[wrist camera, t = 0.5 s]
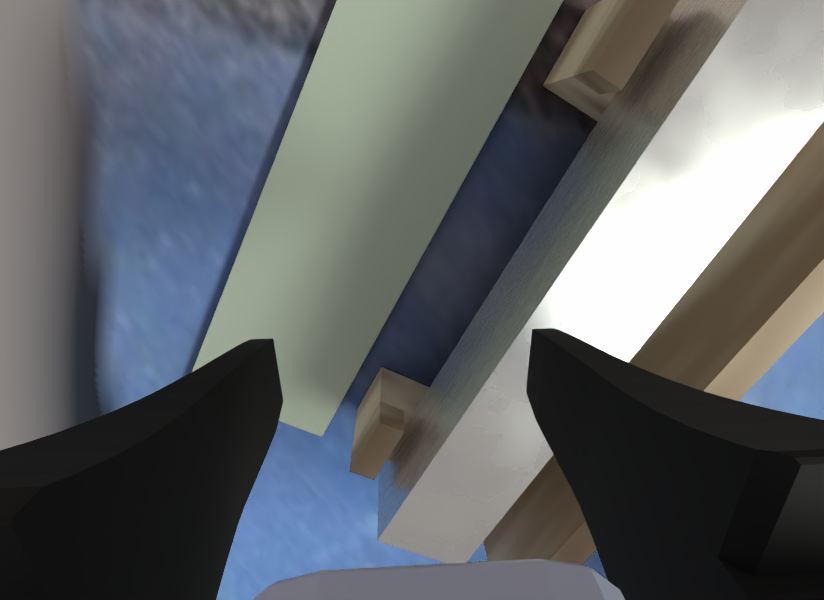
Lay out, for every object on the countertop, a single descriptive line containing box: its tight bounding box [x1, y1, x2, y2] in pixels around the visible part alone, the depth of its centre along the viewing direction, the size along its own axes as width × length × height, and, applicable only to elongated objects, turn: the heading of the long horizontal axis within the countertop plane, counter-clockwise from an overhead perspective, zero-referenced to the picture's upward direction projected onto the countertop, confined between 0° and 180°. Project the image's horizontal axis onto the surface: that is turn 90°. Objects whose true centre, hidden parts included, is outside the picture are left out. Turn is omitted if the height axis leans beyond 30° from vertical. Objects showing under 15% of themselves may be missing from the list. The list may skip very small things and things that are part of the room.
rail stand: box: [350, 0, 824, 565], centre depth 17 cm, size 10×26×7 cm, turn 152°
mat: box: [192, 0, 563, 437], centre depth 18 cm, size 8×26×1 cm, turn 152°
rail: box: [377, 0, 824, 564], centre depth 15 cm, size 4×22×4 cm, turn 152°
